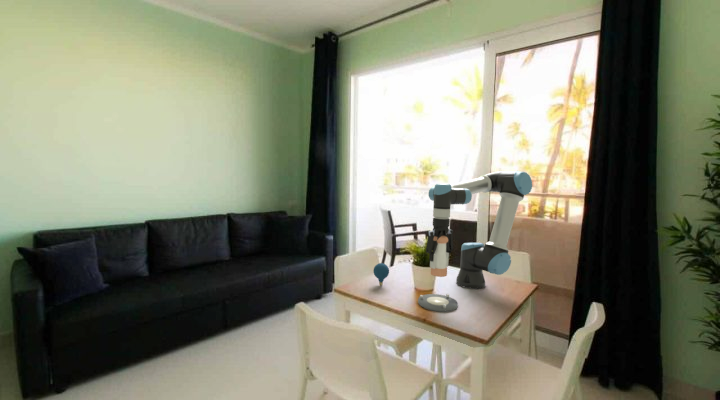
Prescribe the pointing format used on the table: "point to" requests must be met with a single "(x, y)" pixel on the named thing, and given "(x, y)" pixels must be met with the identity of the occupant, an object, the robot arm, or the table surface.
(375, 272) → the light bulb
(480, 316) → the table surface
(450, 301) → the stud plate
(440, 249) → the pepper shaker
